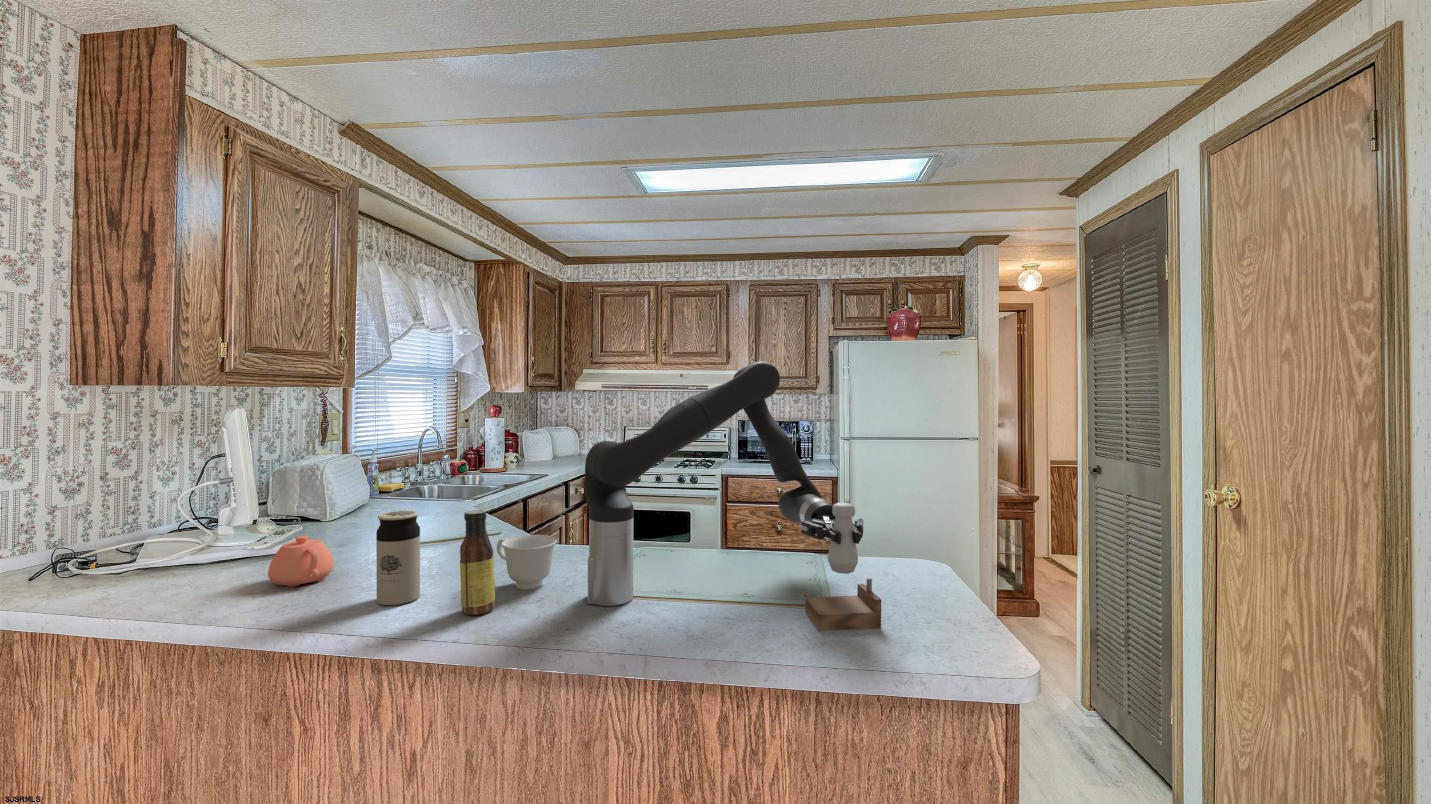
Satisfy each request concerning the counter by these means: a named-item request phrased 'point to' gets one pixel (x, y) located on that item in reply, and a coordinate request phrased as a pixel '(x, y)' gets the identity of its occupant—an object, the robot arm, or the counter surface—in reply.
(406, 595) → the travel mug
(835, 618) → the wooden stand
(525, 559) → the teacup
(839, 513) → the salt shaker
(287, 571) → the sugar bowl
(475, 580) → the sauce bottle
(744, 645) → the counter surface
